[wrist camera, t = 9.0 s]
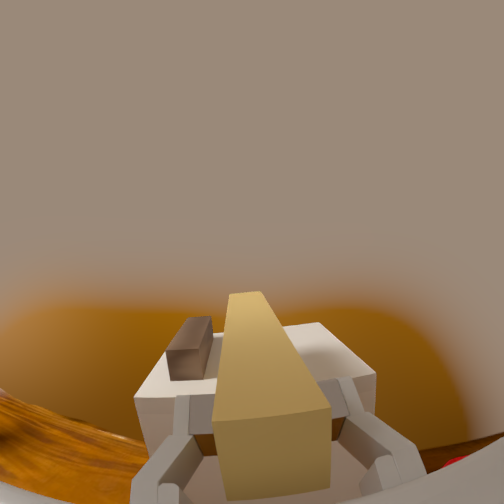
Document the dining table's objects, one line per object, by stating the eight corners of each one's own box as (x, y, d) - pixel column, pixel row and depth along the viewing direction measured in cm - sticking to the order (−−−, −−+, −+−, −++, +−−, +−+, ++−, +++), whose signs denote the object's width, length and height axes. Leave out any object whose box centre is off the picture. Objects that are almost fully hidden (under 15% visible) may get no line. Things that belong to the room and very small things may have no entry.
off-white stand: (191, 565, 23) (133, 397, 23) (202, 477, 43) (175, 335, 43) (355, 547, 24) (376, 372, 24) (321, 465, 44) (318, 322, 44)
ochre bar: (226, 501, 7) (211, 421, 7) (232, 324, 31) (229, 294, 31) (330, 487, 7) (331, 406, 7) (263, 321, 31) (260, 291, 31)
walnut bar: (170, 381, 27) (165, 350, 27) (190, 339, 41) (188, 317, 41) (203, 379, 27) (198, 348, 27) (213, 338, 41) (211, 315, 41)
